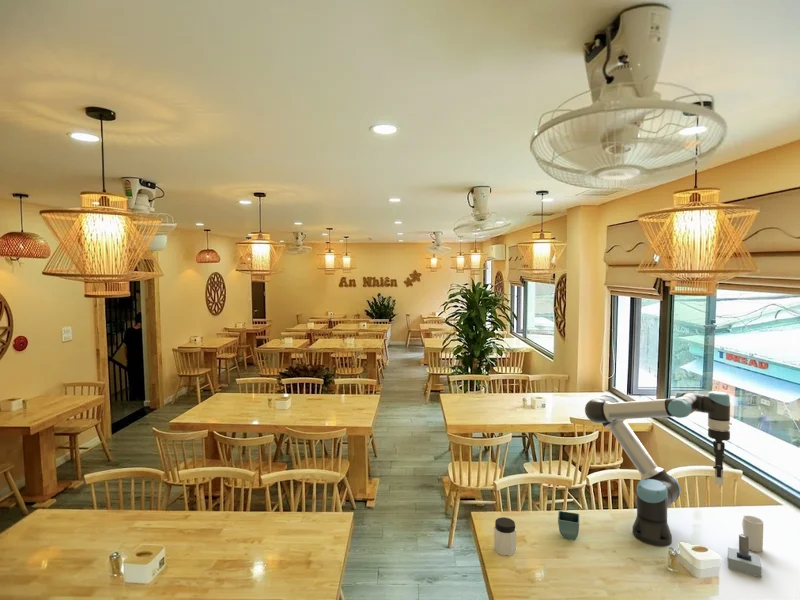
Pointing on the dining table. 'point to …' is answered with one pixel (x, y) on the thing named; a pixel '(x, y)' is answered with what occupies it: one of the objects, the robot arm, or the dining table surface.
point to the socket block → (744, 563)
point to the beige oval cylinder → (753, 532)
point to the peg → (743, 547)
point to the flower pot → (568, 524)
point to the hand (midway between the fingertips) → (718, 478)
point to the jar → (505, 536)
